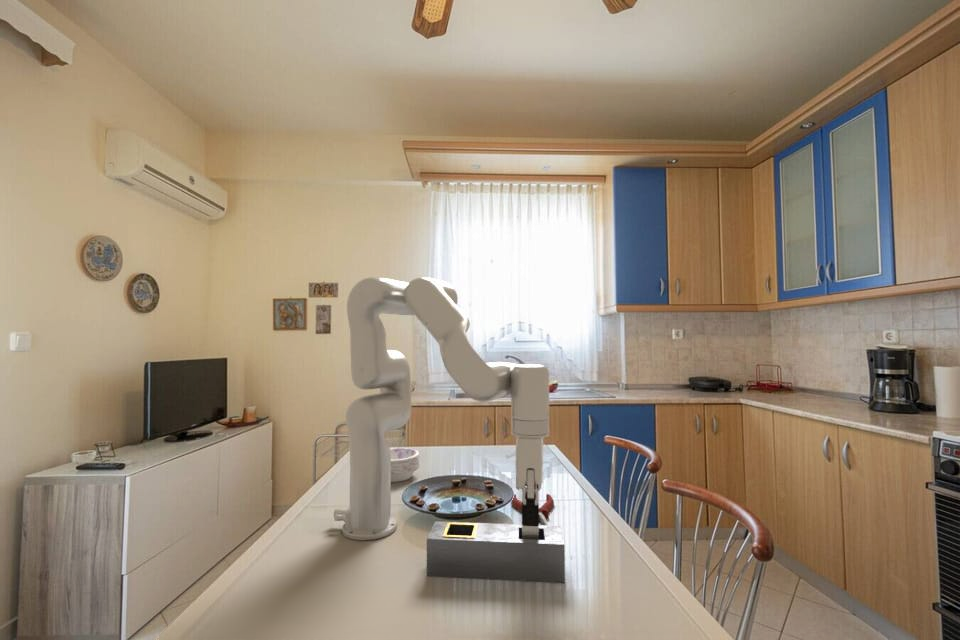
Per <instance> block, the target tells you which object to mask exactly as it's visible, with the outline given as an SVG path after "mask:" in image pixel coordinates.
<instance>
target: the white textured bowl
mask: <svg viewBox="0 0 960 640" xmlns="http://www.w3.org/2000/svg"><path fill="white" fill-rule="evenodd" d="M390 452H391V483H397V482H404V481H407V480H409V479H411V478H412V476H413V474H414V473H415V472H416V471H417V470H418V469H419V468H420V465H421V464H420V452H419V450H417V449H414V448H410V447H409V448H406V447H397V448H396V447H394V448H390Z"/></svg>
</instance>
